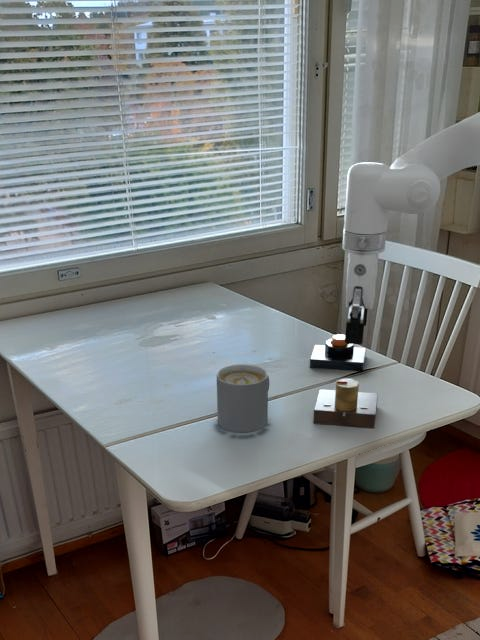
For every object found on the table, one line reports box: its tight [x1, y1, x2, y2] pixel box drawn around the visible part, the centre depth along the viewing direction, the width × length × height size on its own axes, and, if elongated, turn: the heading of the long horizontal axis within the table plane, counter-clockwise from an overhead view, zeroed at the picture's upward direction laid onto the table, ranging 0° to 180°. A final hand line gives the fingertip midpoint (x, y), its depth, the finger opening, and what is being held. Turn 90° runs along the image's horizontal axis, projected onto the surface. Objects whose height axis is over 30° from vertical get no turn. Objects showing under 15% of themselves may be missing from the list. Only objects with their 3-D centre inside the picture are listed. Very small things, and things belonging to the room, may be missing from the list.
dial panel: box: [312, 388, 379, 429], centre depth 157 cm, size 12×12×3 cm
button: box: [331, 333, 348, 346], centre depth 180 cm, size 4×4×2 cm
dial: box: [335, 378, 360, 411], centre depth 153 cm, size 4×4×5 cm
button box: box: [309, 337, 367, 373], centre depth 180 cm, size 12×10×4 cm
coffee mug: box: [216, 363, 270, 434], centre depth 154 cm, size 13×10×10 cm
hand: (355, 334), depth 148 cm, fingers open, 9 cm apart
